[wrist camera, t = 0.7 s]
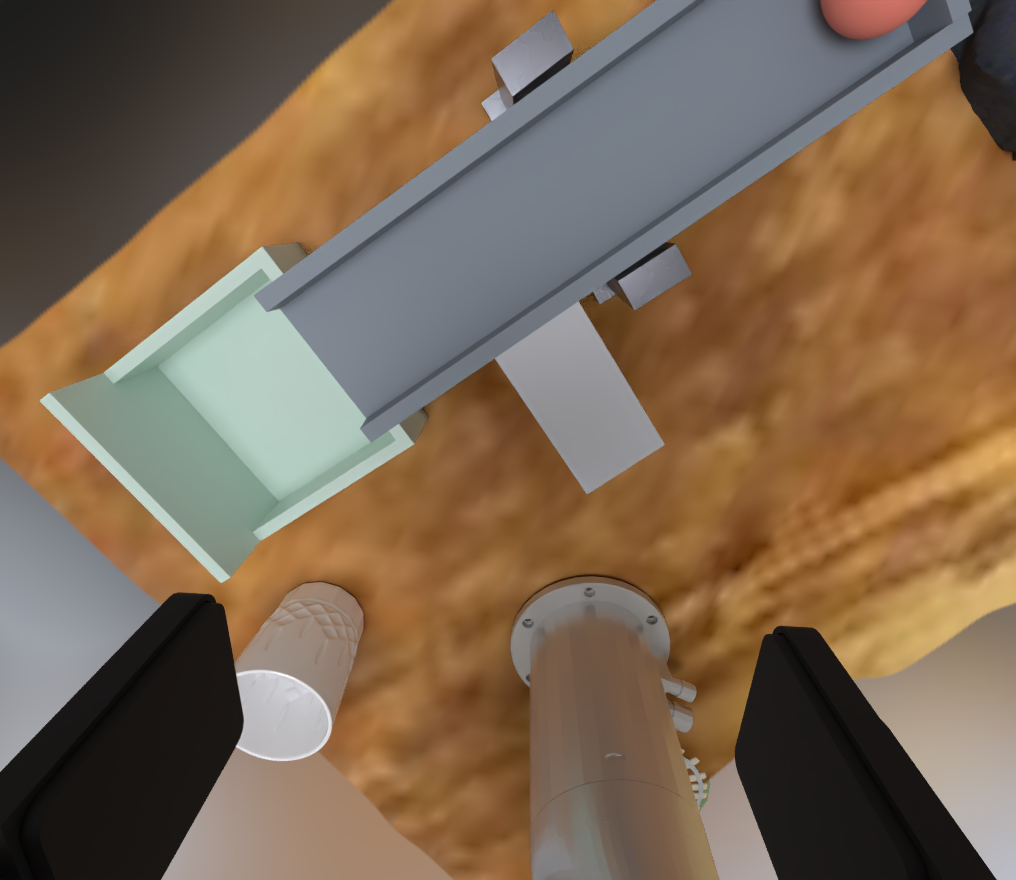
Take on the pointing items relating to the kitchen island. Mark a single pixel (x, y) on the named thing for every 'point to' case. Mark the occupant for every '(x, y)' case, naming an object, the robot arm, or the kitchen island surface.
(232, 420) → the bin
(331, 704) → the white cup
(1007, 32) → the folded navy shirt
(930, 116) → the kitchen island surface
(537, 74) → the lever stand
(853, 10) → the ball
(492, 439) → the kitchen island surface
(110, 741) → the robot arm
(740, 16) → the lever
